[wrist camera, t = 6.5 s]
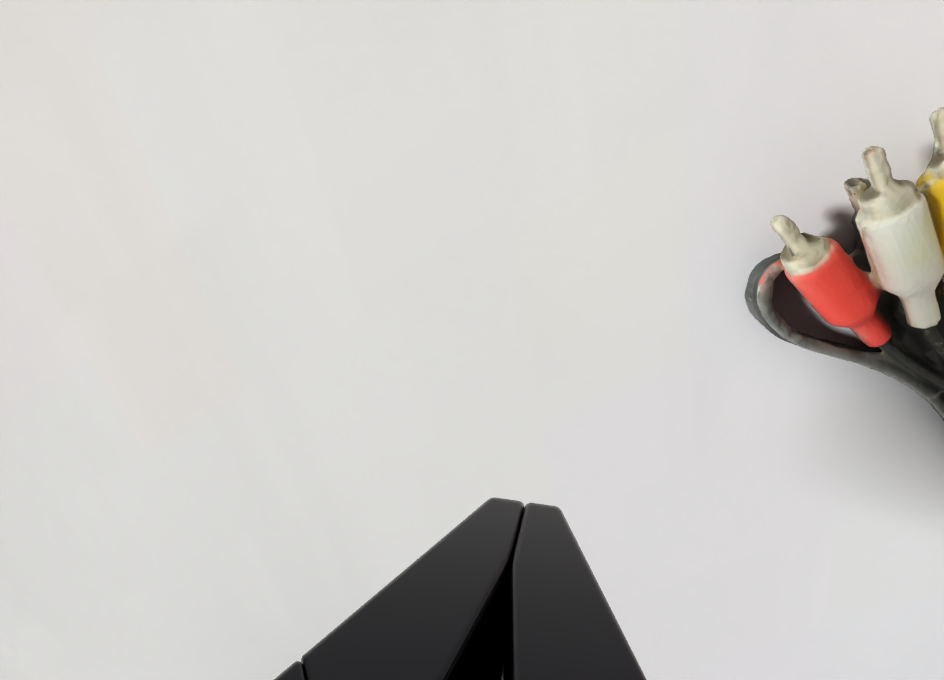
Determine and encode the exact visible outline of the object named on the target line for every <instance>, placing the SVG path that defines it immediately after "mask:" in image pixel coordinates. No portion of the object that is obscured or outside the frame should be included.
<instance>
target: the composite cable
mask: <svg viewBox="0 0 944 680" xmlns="http://www.w3.org/2000/svg"><path fill="white" fill-rule="evenodd" d="M929 121H930V124H931V127H932V130H933V134H934V139H935V141H934V150H933V156H932V160H931V161H930V163H929V165H928V167H927V169H926V171H925V173H924V174H922V175H921V176H920V177H919V179H918V181H917V191H916V189H915V186H914V183H913V182H911V181H908V180H896V179H893V178H892V174H891V168H890V165H889V163H888V161H887V159H886V154H885V150H884V149H883V148H880V147H877V146H871V147H867V148H865V149H864V150H863V153H862V157H863V161H864V165H865V168H866V172H867V175H868V179H869V181H870V183H871V187H870V188H867V185H866V183H864V182H862V181H860V180H859V179H857V178H851V179H849V180H847V181H845V183H844V188H845V190H846V191H847V193H848V194H849V198H850V202H851V203H852V206H853V208H854V210H855V213H854V215H853V217H852V219H851V220H852V224H853V226H854V227H855V229H856V231H857V235H856V238H855V241H854V245H855V250H854V251H853V252H852V253H850V254H849V255H848V254H847V253H846V252H845V251H844V250H843V248H842V247H841V246H840V244H839V243H838V242H836V241H835V240H833V239H831V238H827V237H818V236H813V235H810V234H807V233H800V232H799V229H798V227H797V226H796V224H795V223H794V222H793V221H792V220H790V219H789V218H788V217H786V216H783V215H778V216H775V217H773V218H772V219H771V220H770V225H771V227H772V229H773V230H774V231H775V232H776V233H777V234H778V235H779V236H780V237H781V239H782V240H783V241H784V243H785V244H786V245H785V247H784V249H783V251H782V252H781V253H779V254H775V255H773V256H771V257H768V258H766V259H764V260H762V261H761V262H760V263H758V264H757V265H756V266H755V268H754V269H753V270H752V272H751V273H750V276H749V279H748V283H747V287H746V291H745V299H746V303H747V306H748V308H749V311H750V312H751V314H752V315H753V316H754V317H755V318H756V319H757V320H758V321H759V322H760V323H761V324H762V325H763V326H765V327H766V329H767V330H769V331H770V332H771V333H772V334H774V335H775V336H777V337H778V338H780V339H782V340H784V341H787V342H790V343H793V344H795V345H798V346H800V347H802V348H805V349H808V350H811V351H814V352H818V353H821V354H825V355H829V356H832V357H837V358H840V359H844V360H847V361H852V362H855V363H859V364H861V365H864V366H867V367H869V368H871V369H875V370H878V371H880V372H882V373H883V374H885V375H887V376H890V377H892V378H894V379H896V380H898V381H900V382H901V383H903V384H905V385H907V386H909V387H910V388H911V389H913V390H914V391H915V392H917V393H918V394H919V395H920V396H922V397H923V398H925V399H926V400H927V401H928V402H929V403H930V404H931V405H932V407H933V408H934V409H935V410H936V411H937V412H938V413H939V414H940V416H941V417H942V419H943V420H944V283H943V281H942V280H941V278H942V276H943V274H944V107H942V108H939V109H937V110H936V111H934V112H933V113H932V114H931V115H930V117H929ZM783 270H784V271H785V274H786V276H787V278H788V279H789V280H790V281H791V283H792V284H793V285H794V286H795V287H796V289H797V290H798V291H799V292H800V293H801V294H802V295H803V296H804V297H805V299H806V300H807V301H808V302H809V303H810V304H811V306H812V307H813V308H814V309H815V310H816V311H817V312H818V313H819V314H820V315H821V316H822V318H823V319H824V320H825V321H826V322H828V323H829V324H832V325H834V326H839V327H849V328H850V329H851V330H852V331H853V332H854V333H855V334H856V335H857V336H858V337H859V338H860V339H861V340H862V341H863V342H864V343H865V344H866V345H867V346H869V347H880V348H881V350H882V352H881V353H879V352H869V351H866V350H862V349H858V348H855V347H851V346H847V345H844V344H840V343H836V342H832V341H828V340H825V339H820V338H816V337H812V336H810V335H807V334H803V333H801V332H798V331H795V330H793V329H792V328H791V327H790V326H789V325H788V324H787V323H786V322H785V321H784V319H783V318H782V317H781V316H780V315H779V313H778V312H777V311H776V310H775V308H774V305H773V302H772V296H773V285H774V281H775V279H776V278H777V276H778V275H779V274H780V273H781V272H782V271H783Z"/></svg>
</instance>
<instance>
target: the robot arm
mask: <svg viewBox="0 0 944 680" xmlns="http://www.w3.org/2000/svg"><path fill="white" fill-rule="evenodd" d="M274 680H646V678H645V676H644V674H643V672H642V670H641V668H640V666H639V664H638V662H637V660H636V658H635V656H634V654H633V652H632V650H631V648H630V646H629V644H628V642H627V640H626V638H625V636H624V634H623V632H622V630H621V628H620V626H619V624H618V622H617V620H616V618H615V616H614V614H613V612H612V610H611V608H610V606H609V604H608V602H607V600H606V598H605V596H604V594H603V592H602V591H601V589H600V587H599V585H598V583H597V581H596V579H595V577H594V575H593V573H592V571H591V569H590V567H589V565H588V563H587V561H586V559H585V557H584V555H583V553H582V551H581V549H580V547H579V545H578V543H577V541H576V539H575V537H574V535H573V533H572V531H571V529H570V527H569V525H568V523H567V521H566V519H565V517H564V515H563V513H562V511H561V510H560V509H559V508H558V507H556V506H550V505H543V504H536V503H529V504H527V505H526V506H525V508H524V505H523V503H522V502H520V501H515V500H508V499H501V498H491V499H489V500H487V501H486V502H485V503H484V504H483V505H482V506H480V507H479V508H478V509H477V510H476V511H474V512H473V513H472V514H471V515H470V516H468V517H467V518H466V519H465V520H464V521H463V522H461V523H460V524H459V525H458V526H457V527H455V528H454V529H453V530H452V531H451V532H449V533H448V534H447V535H446V536H445V537H444V538H442V539H441V540H440V541H439V542H438V543H436V544H435V545H434V546H433V547H432V548H430V549H429V550H428V551H427V552H426V553H425V554H423V555H422V556H421V557H420V558H419V559H417V560H416V561H415V562H414V563H413V564H411V565H410V566H409V567H408V568H407V569H406V570H404V571H403V572H402V573H401V574H400V575H398V576H397V577H396V578H395V579H394V580H392V581H391V582H390V583H389V584H388V585H387V586H385V587H384V588H383V589H382V590H381V591H379V592H378V593H377V594H376V595H375V596H373V597H372V598H371V599H370V600H369V601H368V602H366V603H365V604H364V605H363V606H362V607H360V608H359V609H358V610H357V611H356V612H354V613H353V614H352V615H351V616H350V617H349V618H347V619H346V620H345V621H344V622H343V623H341V624H340V625H339V626H338V627H337V628H335V629H334V630H333V631H332V632H331V633H329V634H328V635H327V636H326V637H325V638H324V639H322V640H321V641H320V642H319V643H318V644H316V645H315V646H314V647H313V648H312V649H310V650H309V651H308V652H307V653H306V654H305V655H303V657H302V659H301V662H299V661H297V662H295V663H293V664H292V665H291V666H290V667H289V668H287V669H286V670H285V671H284V672H283V673H281V674H280V675H279V676H278V677H277V678H276V679H274Z"/></svg>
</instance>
